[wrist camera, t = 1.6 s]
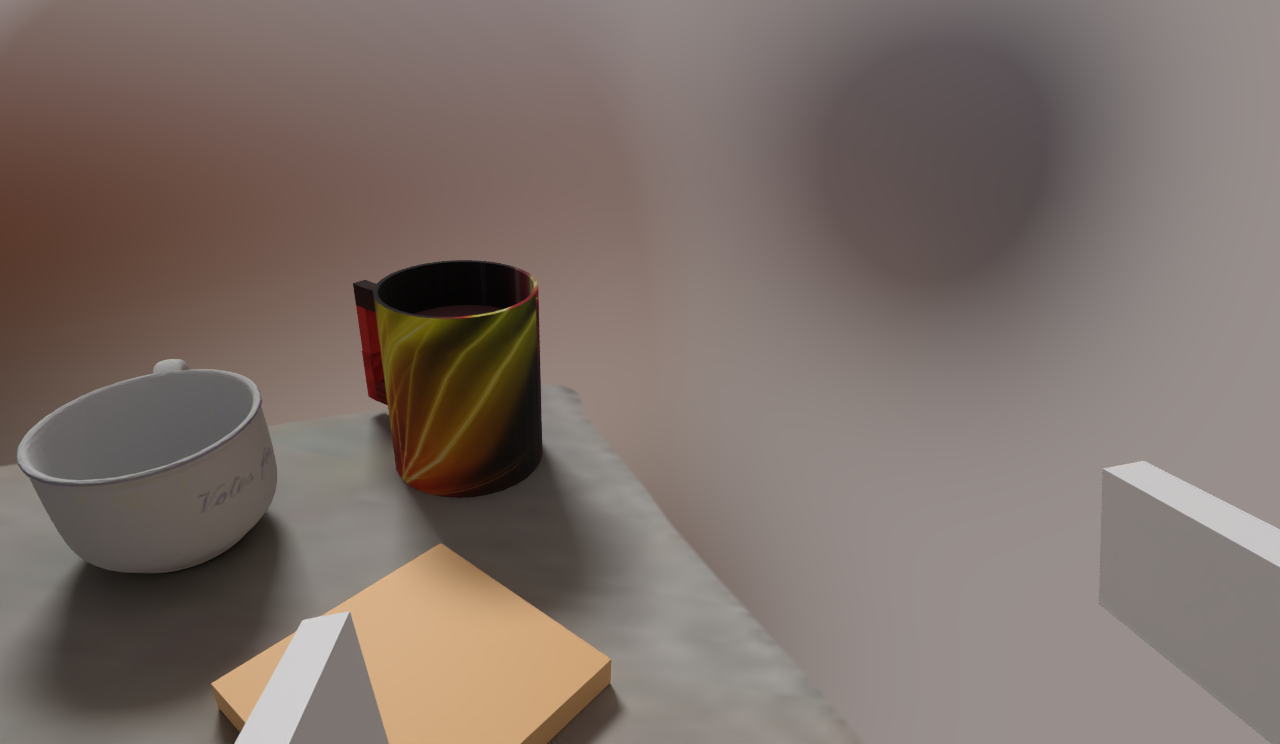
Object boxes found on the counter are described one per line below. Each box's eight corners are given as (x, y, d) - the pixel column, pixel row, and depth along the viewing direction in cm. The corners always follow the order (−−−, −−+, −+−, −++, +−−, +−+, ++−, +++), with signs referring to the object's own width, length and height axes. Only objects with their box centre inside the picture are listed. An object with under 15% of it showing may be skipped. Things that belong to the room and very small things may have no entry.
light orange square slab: (218, 707, 33) (210, 683, 32) (443, 564, 41) (440, 542, 40) (384, 900, 26) (379, 874, 25) (610, 682, 35) (611, 659, 34)
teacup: (261, 594, 39) (228, 464, 35) (22, 617, 37) (-40, 482, 33) (313, 446, 51) (293, 338, 47) (135, 458, 49) (100, 346, 45)
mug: (375, 404, 56) (353, 249, 50) (557, 425, 54) (555, 267, 49) (306, 479, 47) (270, 302, 42) (519, 506, 46) (511, 326, 40)
